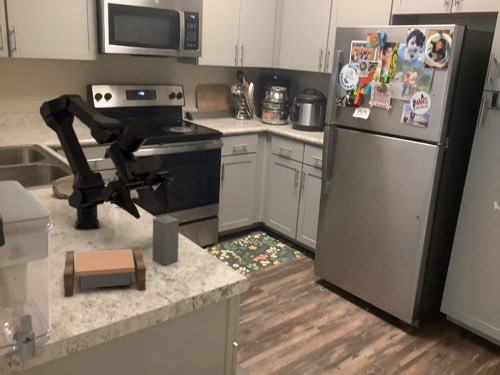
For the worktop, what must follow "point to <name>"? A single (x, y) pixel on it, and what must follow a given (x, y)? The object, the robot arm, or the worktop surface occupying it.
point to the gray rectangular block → (165, 240)
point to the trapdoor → (104, 268)
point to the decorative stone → (63, 186)
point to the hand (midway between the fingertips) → (153, 214)
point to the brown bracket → (70, 271)
